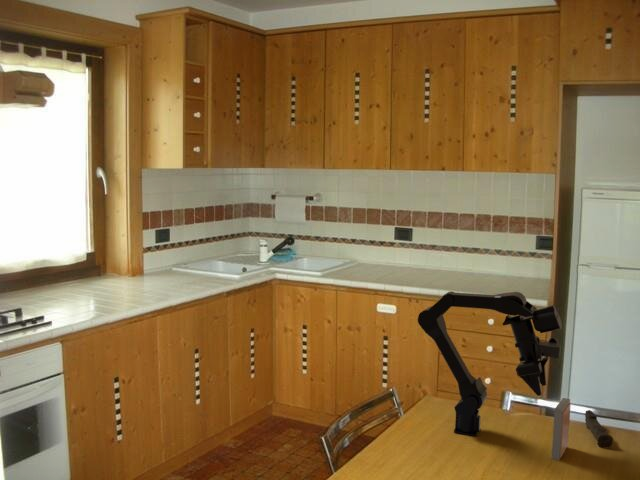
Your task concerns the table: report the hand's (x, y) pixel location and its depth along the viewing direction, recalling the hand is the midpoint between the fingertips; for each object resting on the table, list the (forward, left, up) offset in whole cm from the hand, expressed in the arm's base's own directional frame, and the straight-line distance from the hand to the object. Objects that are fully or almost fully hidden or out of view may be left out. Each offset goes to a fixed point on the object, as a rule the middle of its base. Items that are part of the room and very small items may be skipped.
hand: (541, 390), depth 187 cm
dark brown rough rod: (+15, +15, -16) cm, 26 cm away
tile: (+6, -3, -16) cm, 17 cm away
